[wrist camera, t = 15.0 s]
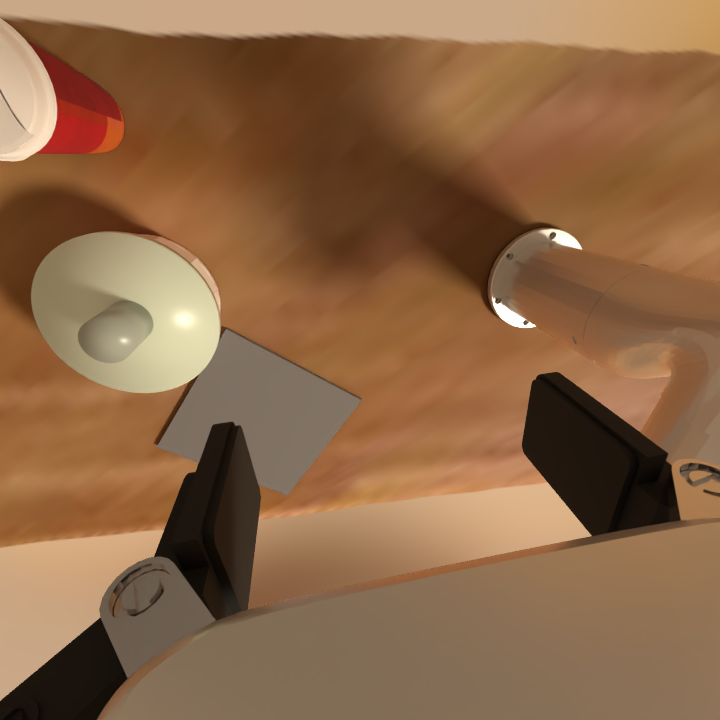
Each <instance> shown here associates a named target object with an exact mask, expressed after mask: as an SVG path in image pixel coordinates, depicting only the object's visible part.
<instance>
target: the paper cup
mask: <svg viewBox="0 0 720 720" xmlns="http://www.w3.org/2000/svg"><path fill="white" fill-rule="evenodd" d="M124 130H125V125H124V119H123V115H122V113H121V110H120V108H119V106H118V105H117V103H116V102H115V100H114V99H113V98H112V97H111V96H110V95H109V93H107V92H106V91H105V90H104V89H103V88H101V87H100V86H99V85H97V84H96V83H94V82H93V81H91V80H90V79H88V78H87V77H85V76H83V75H82V74H80V73H79V72H77V71H75V70H74V69H72V68H71V67H69V66H67V65H66V64H64V63H63V62H61V61H60V60H58V59H57V58H55V57H54V56H52V55H51V54H49V53H47V52H45V51H44V50H42V49H40V48H39V47H37V46H35V45H34V44H32V43H30V42H28V41H27V40H25V39H24V38H23V37H22V36H21V35H20V34H19V33H18V32H17V31H16V30H15V29H14V28H13V27H12V26H10V25H9V24H8V23H6V22H5V21H4V20H2V19H1V18H0V160H1V161H20V160H24V159H26V158H27V157H29V156H31V155H32V154H34V153H39V154H93V153H105V152H109V151H111V150H113V149H115V148H116V147H117V146H118V145H119V144H120V143H121V141H122V139H123V136H124Z"/></svg>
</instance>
